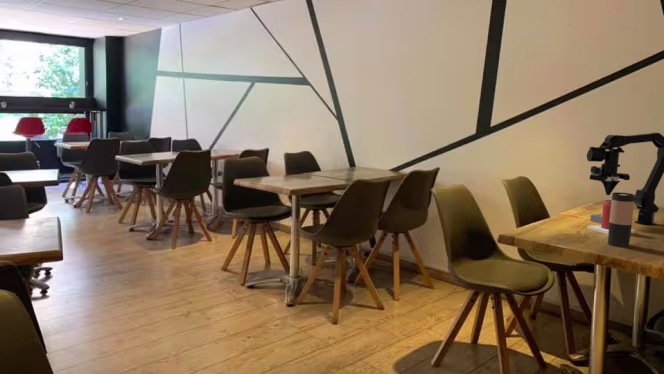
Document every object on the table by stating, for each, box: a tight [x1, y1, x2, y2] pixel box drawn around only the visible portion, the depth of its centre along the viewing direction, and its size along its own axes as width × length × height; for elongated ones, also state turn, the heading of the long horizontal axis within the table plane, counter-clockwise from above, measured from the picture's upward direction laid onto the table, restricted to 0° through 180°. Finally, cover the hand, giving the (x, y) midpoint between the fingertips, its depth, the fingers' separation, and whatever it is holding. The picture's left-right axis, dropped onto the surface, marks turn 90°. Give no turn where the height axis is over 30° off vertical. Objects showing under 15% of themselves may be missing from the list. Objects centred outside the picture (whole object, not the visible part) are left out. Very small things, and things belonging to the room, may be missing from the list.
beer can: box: [600, 199, 612, 229], centre depth 220 cm, size 7×7×12 cm
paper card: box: [587, 224, 636, 235], centre depth 221 cm, size 14×12×1 cm
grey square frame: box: [589, 213, 602, 224], centre depth 239 cm, size 9×9×3 cm
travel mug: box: [607, 191, 635, 248], centre depth 195 cm, size 8×8×20 cm
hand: (607, 195), depth 237 cm, fingers closed
